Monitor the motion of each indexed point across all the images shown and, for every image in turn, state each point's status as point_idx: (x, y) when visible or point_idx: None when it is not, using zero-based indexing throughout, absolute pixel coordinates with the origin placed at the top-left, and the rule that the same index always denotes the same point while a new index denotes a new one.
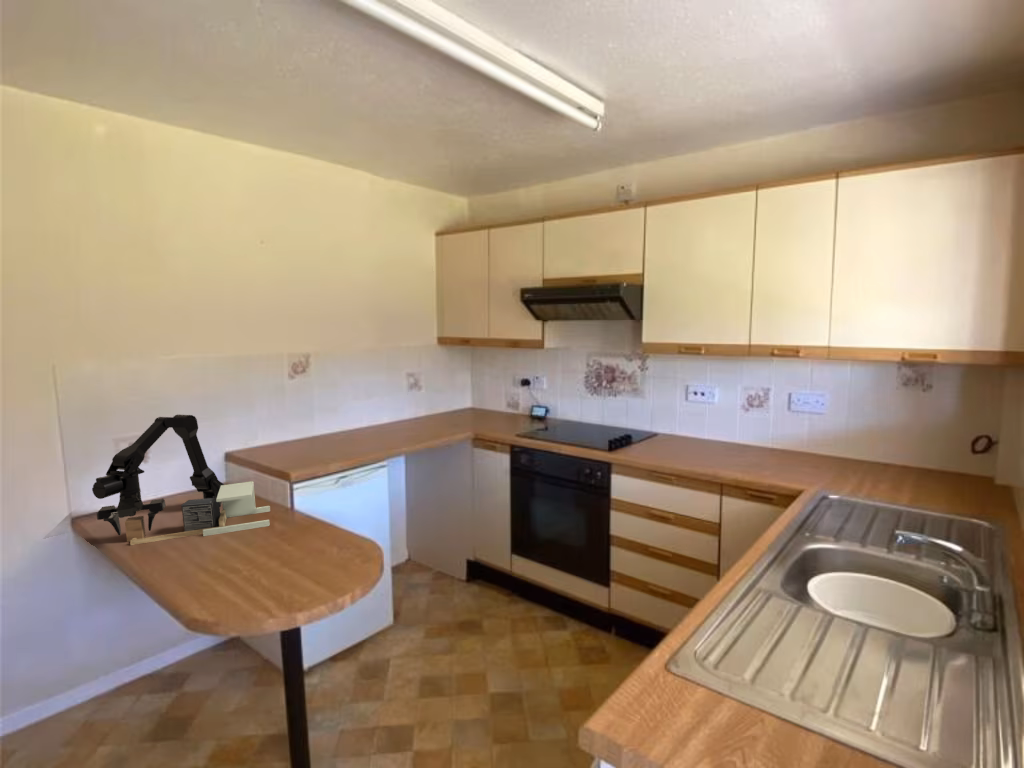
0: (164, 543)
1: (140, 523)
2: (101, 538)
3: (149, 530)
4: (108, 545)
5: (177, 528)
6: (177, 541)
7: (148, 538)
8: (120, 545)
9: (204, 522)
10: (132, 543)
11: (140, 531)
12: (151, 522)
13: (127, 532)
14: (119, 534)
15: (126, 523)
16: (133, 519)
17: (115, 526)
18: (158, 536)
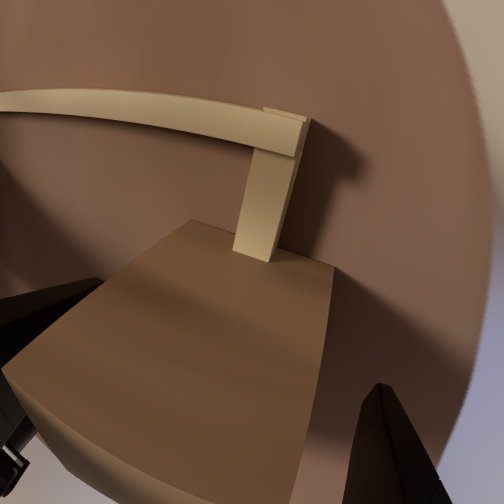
0: (63, 10)
1: (50, 331)
2: (436, 452)
3: (97, 279)
4: (482, 304)
5: (33, 278)
6: (19, 23)
7: (112, 92)
8: (408, 209)
9: None
10: (285, 112)
11: (147, 267)
12: (4, 300)
13: (304, 335)
14: (385, 390)
15: (259, 482)
16: (133, 492)
17: (425, 491)
18: (48, 90)
